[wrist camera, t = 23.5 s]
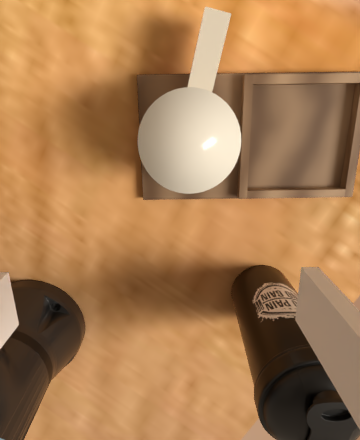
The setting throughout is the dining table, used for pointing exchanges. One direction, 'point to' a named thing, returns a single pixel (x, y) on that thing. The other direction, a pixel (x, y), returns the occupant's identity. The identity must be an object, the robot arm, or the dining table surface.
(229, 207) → the dining table surface
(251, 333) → the water bottle
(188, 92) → the white pot with handle
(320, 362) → the robot arm
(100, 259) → the dining table surface
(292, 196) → the brown flat rectangular tray
